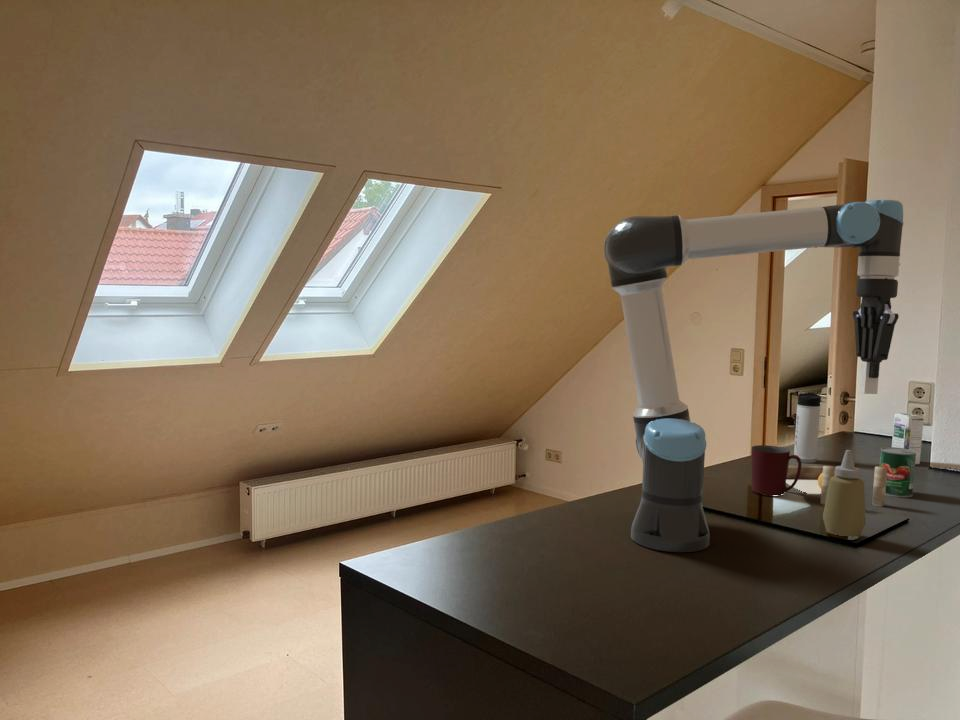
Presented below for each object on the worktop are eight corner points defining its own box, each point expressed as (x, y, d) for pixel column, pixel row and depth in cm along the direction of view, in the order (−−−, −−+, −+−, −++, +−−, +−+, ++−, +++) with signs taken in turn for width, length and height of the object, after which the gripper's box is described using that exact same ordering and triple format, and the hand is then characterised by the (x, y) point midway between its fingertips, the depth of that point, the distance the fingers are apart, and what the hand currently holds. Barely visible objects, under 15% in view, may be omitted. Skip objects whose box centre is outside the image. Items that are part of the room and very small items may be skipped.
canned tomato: (881, 495, 197) (885, 452, 196) (874, 488, 204) (877, 446, 203) (916, 498, 195) (920, 454, 194) (907, 490, 203) (911, 448, 202)
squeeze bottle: (869, 545, 158) (876, 456, 156) (826, 541, 160) (832, 453, 158) (858, 532, 166) (865, 447, 164) (817, 529, 168) (823, 445, 166)
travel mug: (818, 460, 236) (822, 393, 234) (814, 464, 231) (819, 395, 229) (796, 457, 240) (800, 391, 238) (791, 461, 234) (796, 393, 232)
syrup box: (889, 461, 238) (893, 413, 236) (905, 460, 240) (908, 412, 238) (904, 465, 232) (908, 416, 231) (920, 464, 234) (924, 415, 233)
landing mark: (805, 494, 196) (805, 493, 196) (781, 480, 210) (781, 479, 210) (860, 494, 197) (860, 494, 197) (832, 480, 211) (832, 480, 211)
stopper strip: (774, 478, 212) (774, 467, 212) (770, 476, 214) (771, 465, 214) (832, 479, 213) (833, 468, 213) (828, 477, 215) (829, 466, 215)
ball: (818, 465, 199) (812, 479, 202) (824, 482, 195) (818, 497, 198) (841, 466, 199) (834, 480, 202) (847, 483, 194) (840, 497, 198)
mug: (805, 495, 195) (808, 451, 194) (791, 502, 188) (794, 456, 187) (758, 486, 203) (760, 443, 202) (742, 492, 197) (745, 448, 196)
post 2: (875, 506, 187) (878, 468, 186) (869, 503, 189) (872, 466, 188) (886, 506, 187) (889, 469, 186) (880, 503, 190) (883, 466, 189)
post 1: (823, 506, 186) (826, 468, 185) (818, 502, 189) (820, 465, 188) (834, 506, 186) (837, 468, 185) (829, 503, 189) (831, 465, 188)
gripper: (914, 278, 155) (905, 398, 157) (877, 278, 168) (869, 389, 170) (877, 277, 154) (868, 397, 157) (843, 277, 167) (835, 388, 170)
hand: (868, 393), depth 163 cm, fingers closed
